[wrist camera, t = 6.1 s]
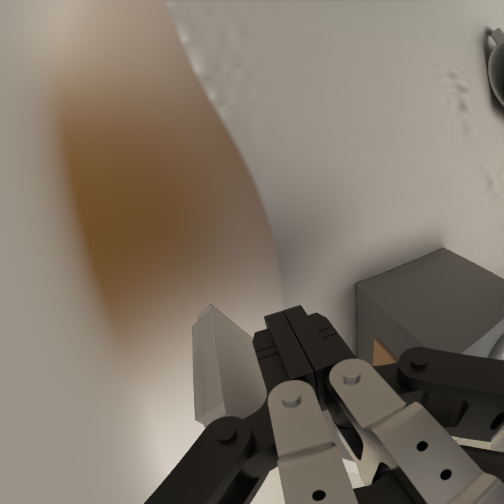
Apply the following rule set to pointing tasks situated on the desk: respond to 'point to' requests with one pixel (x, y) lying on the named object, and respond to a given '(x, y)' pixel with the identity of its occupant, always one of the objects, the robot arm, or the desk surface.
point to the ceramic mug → (497, 65)
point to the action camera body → (431, 310)
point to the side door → (233, 375)
